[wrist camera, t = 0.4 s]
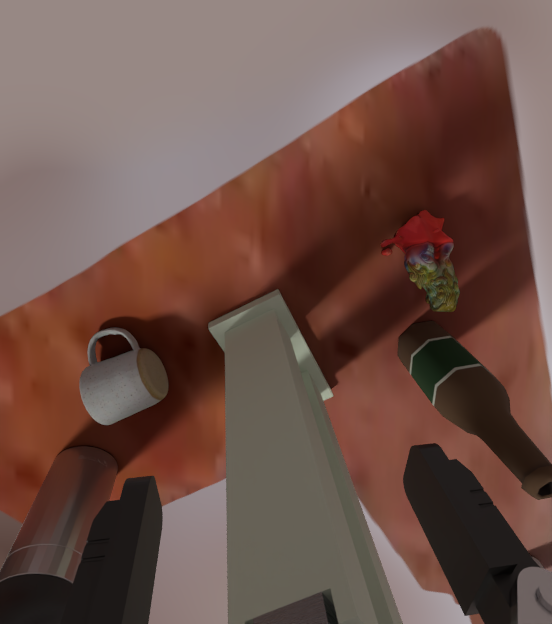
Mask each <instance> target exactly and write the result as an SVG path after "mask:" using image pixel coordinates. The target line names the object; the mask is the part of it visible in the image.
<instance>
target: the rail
mask: <svg viewBox="0 0 552 624" xmlns="http://www.w3.org/2000/svg"><path fill="white" fill-rule="evenodd" d="M253 624H339V623H338V620H337V615H336V611H335V607H334V605H333V604H332V603H331V601H330V600H329V599H328V598H327V597H326V596H325V595H324V594H323V593H322V592H319V593H316V594H314V595H311V596H309V597H306V598H304V599H301V600H299V601H296V602H293V603H291V604H288V605H286V606H283V607H281V608H278V609H276V610H273V611H270V612H268V613H265V614H263V615H260V616H258V617H255V618H253Z"/></svg>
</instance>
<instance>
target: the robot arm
mask: <svg viewBox="0 0 552 624" xmlns="http://www.w3.org/2000/svg"><path fill="white" fill-rule="evenodd" d="M117 472H118V465H117V462H116V460H115V459H114V458H113V457H112V456H111V455H110V454H109V453H107V452H105V451H103V450H101V449H98V448H94V447H87V446H79V447H73V448H69V449H67V450H64V451H63V452H61V453H60V454H59V455H58V456H57V457H56V458H55V460H54V462H53V464H52V466H51V468H50V470H49V472H48V474H47V476H46V478H45V480H44V482H43V484H42V486H41V488H40V490H39V492H38V494H37V496H36V498H35V500H34V502H33V505H32V507H31V509H30V511H29V513H28V515H27V517H26V519H25V521H24V523H23V525H22V527H21V529H20V531H19V533H18V535H17V537H16V540H15V541H14V543H13V545H12V547H11V549H10V552H9V554H8V556H7V558H6V560H5V562H4V564H3V566H2V568H1V570H0V624H148V621H149V614H150V607H151V600H152V593H153V586H154V579H155V572H156V566H157V558H158V551H159V545H160V538H161V531H162V506H161V502H160V498H159V493H158V489H157V485H156V481H155V478H154V476H146V477H137V478H128V479H126V481H125V483H124V486H123V490H122V494H121V497H120V500H115V501H109V499H110V496H111V493H112V489H113V486H114V482H115V479H116V475H117ZM403 483H404V489H405V492H406V495H407V497H408V500H409V502H410V504H411V506H412V508H413V510H414V512H415V514H416V516H417V518H418V520H419V522H420V524H421V526H422V528H423V530H424V533H425V535H426V537H427V539H428V541H429V543H430V545H431V547H432V549H433V551H434V553H435V555H436V557H437V559H438V561H439V563H440V565H441V567H442V569H443V572H444V574H445V576H446V578H447V580H448V582H449V584H450V586H451V588H452V590H453V592H454V594H455V596H456V598H457V600H458V602H459V604H460V606H461V608H462V611H463V613H464V615H465V616H467V615H473V614H480V616H481V618H482V620H483V622H484V623H485V624H552V572H551V571H549V570H546V569H543V568H541V567H540V566H539V565H538V564H537V563H536V562H535V561H534V560H533V558H532V557H531V556H530V554H529V553H528V551H527V550H526V549H525V547H524V546H523V544H522V543H521V541H520V540H519V539H518V537H517V536H516V534H515V533H514V531H513V530H512V529H511V527H510V526H509V524H508V523H507V521H506V520H505V519H504V517H503V516H502V514H501V513H500V511H499V510H498V509H497V507H496V506H494V505H493V501H492V500H491V499H490V497H489V496H488V494H487V493H486V492H484V490H483V487H482V486H481V484H480V483H479V482H478V480H477V479H476V477H475V476H474V474H473V473H472V472H471V471H470V470H469V469H467V468H466V467H465V466H464V465H463V464H461V463H460V462H459V461H458V460H457V459H454V460H449V459H448V458H447V456H446V455H445V453H444V452H443V450H442V449H441V447H440V446H439V445H438V444H436V443H433V444H424V445H415V446H412V447H411V448H410V452H409V456H408V460H407V464H406V468H405V472H404V476H403Z"/></svg>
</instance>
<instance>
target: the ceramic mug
mask: <svg viewBox="0 0 552 624" xmlns="http://www.w3.org/2000/svg"><path fill="white" fill-rule="evenodd" d="M109 334H114V335H116V334H121V335H123V336H124V337H125V338H127V340H128V341H129V343H130V344H131V347H132V348H133V350H132V351H129V352H126V353H124V354H121V355H119V356H116V357H113V358H110V359H107V360H104V361H101V362H97V359H96V354H95V346H96V342H97V340H98V339H99V338H100V337H102V336H105V335H109ZM88 360H89V364H90V366H88V367H86V368H85V369H84V371H83V372H82V374H81V377H80V393H81V398H82V400H83V403H84V405H85V408H86V409H87V411H88V413H89V414H90V415H91V417H92V418H93V419H94V420H95V421H97V422H98V423H100V424H102V425H111V424H113V423H115V422H117V421H120V420H122V419H124V418H126V417H129V416H131V415H133V414H135V413H137V412H139V411H141V410H144V409H146V408H148V407H151V406H153V405H155V404H156V403H158V402H159V401H161V400H162V399H164V398H165V396H166V395H167V392H168V378H167V374H166V371H165V368H164V366H163V364H162V362H161V360H160V359H159V357H158V356H157V355H156V354H155V353H154V352H153V351H151V350H149V349H146V348H142V349H141V348H139V346H138V343H137V341H136V339H135V338H134V337H133V335H132V334H131V333H130V332H128V331H127V330H125V329H122V328H116V327H113V328H108V329H105V330H102V331H99V332H98V333H96V334H95V335H94V336H93V337H92V338H91V340H90V343H89V345H88Z"/></svg>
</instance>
